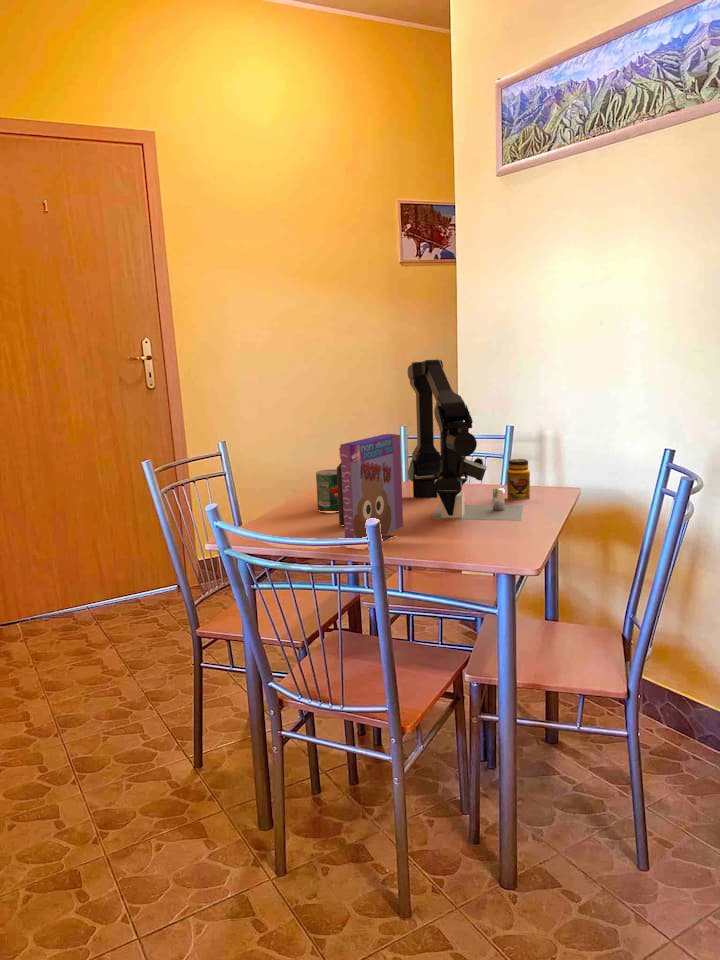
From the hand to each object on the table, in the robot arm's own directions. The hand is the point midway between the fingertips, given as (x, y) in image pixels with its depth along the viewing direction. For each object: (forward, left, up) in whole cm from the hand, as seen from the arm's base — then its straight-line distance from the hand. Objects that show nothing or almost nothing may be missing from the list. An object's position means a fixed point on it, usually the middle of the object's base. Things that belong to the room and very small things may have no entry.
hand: (453, 511), depth 181 cm
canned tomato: (-35, +9, -3) cm, 36 cm away
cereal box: (-16, -19, -3) cm, 25 cm away
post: (+11, +7, -3) cm, 13 cm away
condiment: (+15, +23, -3) cm, 28 cm away
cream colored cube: (0, 0, -1) cm, 1 cm away
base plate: (+6, +4, -3) cm, 8 cm away
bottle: (-25, -6, -3) cm, 26 cm away
